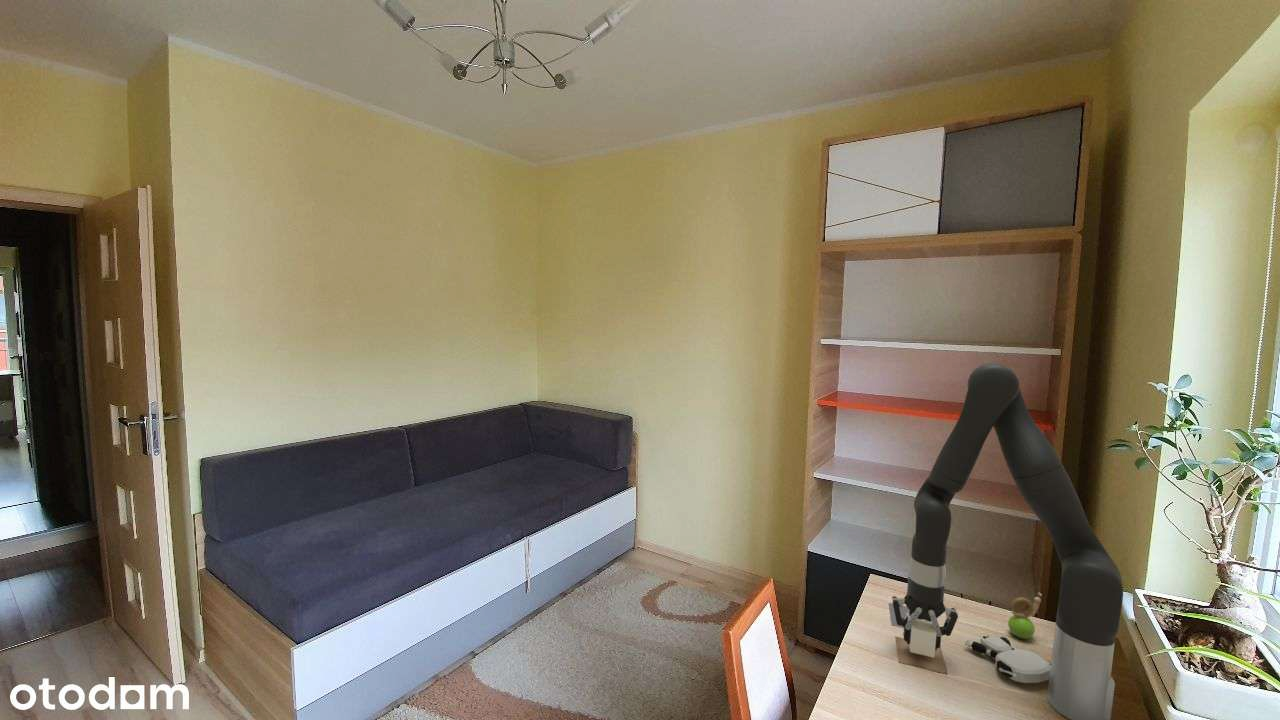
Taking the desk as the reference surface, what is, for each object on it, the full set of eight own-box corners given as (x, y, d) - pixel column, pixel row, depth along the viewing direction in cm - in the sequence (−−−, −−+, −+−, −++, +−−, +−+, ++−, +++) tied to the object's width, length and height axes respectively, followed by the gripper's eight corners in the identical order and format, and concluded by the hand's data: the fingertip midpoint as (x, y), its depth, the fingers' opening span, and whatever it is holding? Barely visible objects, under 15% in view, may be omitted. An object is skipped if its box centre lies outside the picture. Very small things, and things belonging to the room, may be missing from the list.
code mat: (933, 613, 141) (933, 611, 141) (939, 637, 131) (939, 636, 131) (888, 603, 145) (888, 602, 145) (891, 626, 135) (891, 625, 135)
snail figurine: (1042, 645, 128) (1048, 599, 127) (1014, 642, 129) (1019, 596, 128) (1030, 631, 134) (1035, 587, 132) (1002, 628, 135) (1007, 585, 133)
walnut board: (940, 647, 127) (940, 646, 127) (947, 674, 118) (947, 673, 117) (895, 637, 130) (895, 636, 130) (898, 662, 121) (898, 661, 121)
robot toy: (960, 653, 126) (1017, 694, 112) (960, 635, 126) (1017, 674, 112) (1002, 646, 129) (1063, 686, 114) (1002, 628, 129) (1063, 666, 114)
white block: (931, 644, 125) (933, 621, 124) (934, 657, 121) (936, 633, 120) (907, 639, 127) (909, 616, 126) (910, 652, 122) (912, 628, 122)
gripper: (958, 576, 122) (952, 643, 124) (891, 564, 128) (886, 628, 130) (965, 592, 116) (958, 663, 118) (893, 579, 121) (888, 647, 123)
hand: (921, 644), depth 124 cm, fingers closed on white block, 5 cm apart
